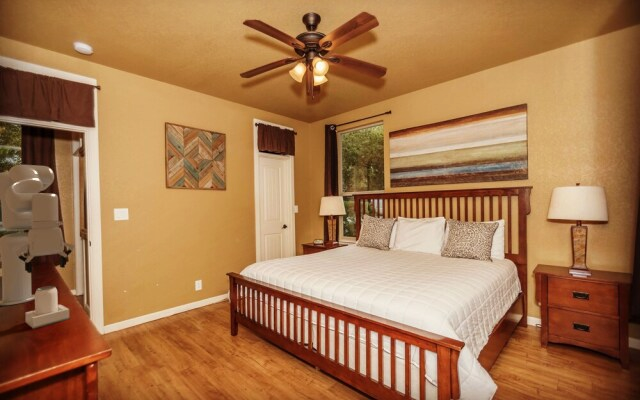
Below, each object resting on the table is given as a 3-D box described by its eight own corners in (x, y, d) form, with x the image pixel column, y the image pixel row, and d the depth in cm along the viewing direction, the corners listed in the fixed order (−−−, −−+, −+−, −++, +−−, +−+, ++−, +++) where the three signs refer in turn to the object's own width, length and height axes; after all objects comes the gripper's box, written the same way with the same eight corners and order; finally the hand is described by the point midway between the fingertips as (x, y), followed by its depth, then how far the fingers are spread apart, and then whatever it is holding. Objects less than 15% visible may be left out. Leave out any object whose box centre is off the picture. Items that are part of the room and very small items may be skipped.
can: (44, 323, 112) (43, 290, 112) (30, 322, 114) (29, 290, 114) (62, 316, 119) (61, 285, 119) (49, 315, 120) (48, 285, 120)
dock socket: (25, 322, 115) (25, 312, 115) (60, 313, 123) (60, 304, 123) (33, 328, 109) (33, 318, 109) (69, 318, 118) (69, 309, 118)
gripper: (70, 223, 125) (71, 264, 126) (11, 226, 111) (12, 273, 111) (76, 224, 121) (77, 266, 121) (16, 227, 107) (17, 276, 107)
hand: (46, 269), depth 116 cm, fingers open, 9 cm apart
